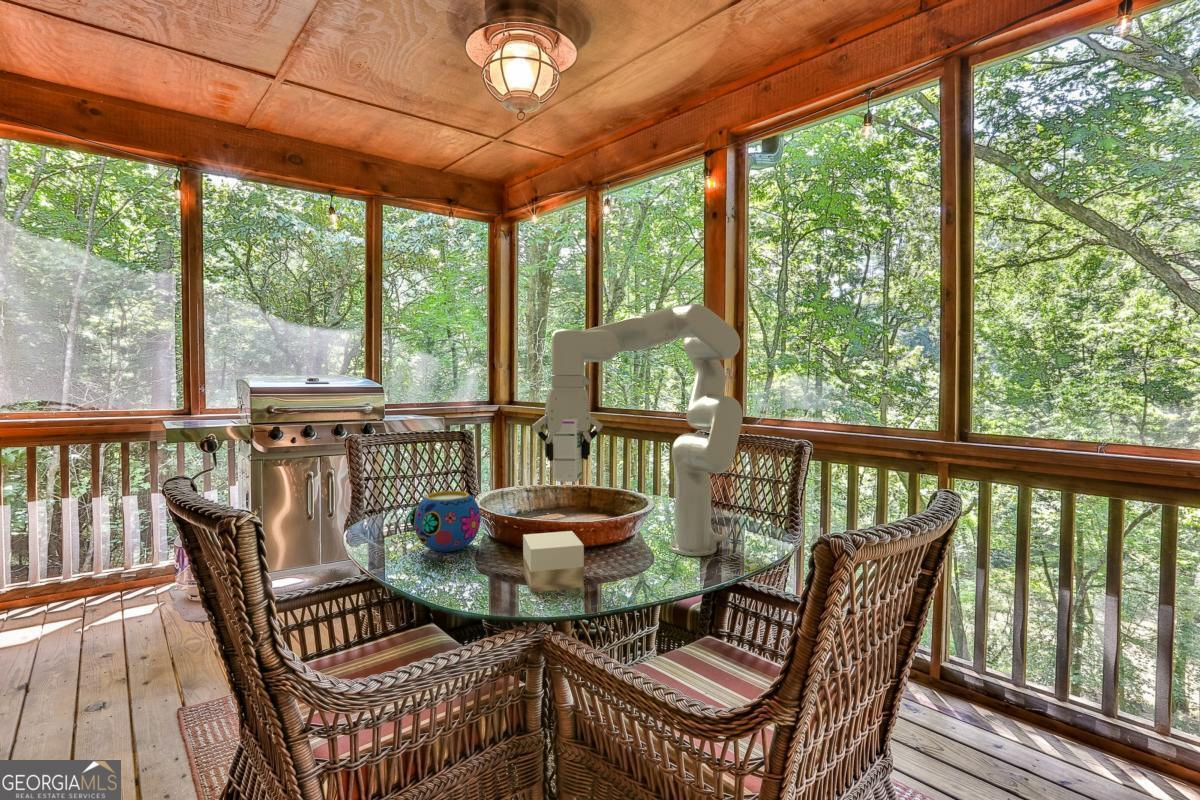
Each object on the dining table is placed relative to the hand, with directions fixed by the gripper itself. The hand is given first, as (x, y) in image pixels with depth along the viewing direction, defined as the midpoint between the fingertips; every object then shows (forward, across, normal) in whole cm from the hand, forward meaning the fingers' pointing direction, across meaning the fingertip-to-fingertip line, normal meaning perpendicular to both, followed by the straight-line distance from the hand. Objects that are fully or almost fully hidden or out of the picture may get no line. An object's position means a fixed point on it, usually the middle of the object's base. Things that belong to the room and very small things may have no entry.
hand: (567, 459), depth 137 cm
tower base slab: (+29, +3, -1) cm, 29 cm away
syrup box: (+5, 0, 0) cm, 5 cm away
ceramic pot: (+29, +26, -32) cm, 50 cm away
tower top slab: (+24, +3, -1) cm, 24 cm away
